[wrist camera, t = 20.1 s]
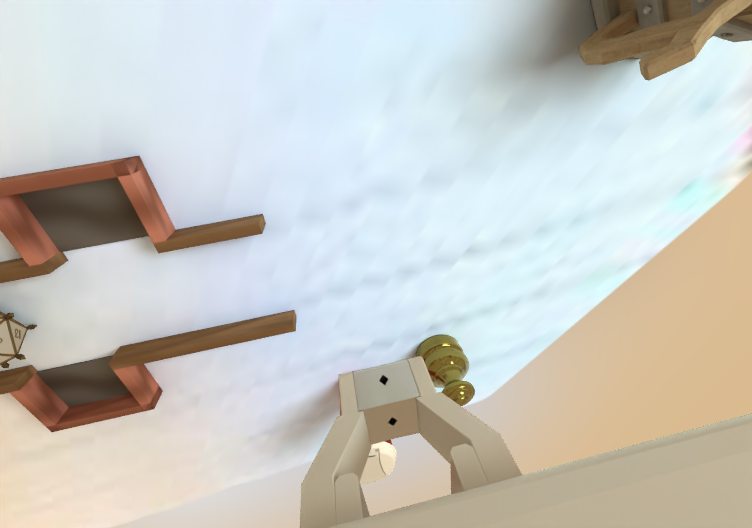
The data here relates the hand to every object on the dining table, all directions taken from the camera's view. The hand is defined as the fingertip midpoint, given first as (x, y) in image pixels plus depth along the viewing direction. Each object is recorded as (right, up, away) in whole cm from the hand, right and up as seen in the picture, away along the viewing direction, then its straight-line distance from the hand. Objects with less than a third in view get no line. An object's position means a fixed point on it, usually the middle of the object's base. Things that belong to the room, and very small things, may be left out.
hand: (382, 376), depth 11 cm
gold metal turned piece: (+10, -10, +42) cm, 44 cm away
